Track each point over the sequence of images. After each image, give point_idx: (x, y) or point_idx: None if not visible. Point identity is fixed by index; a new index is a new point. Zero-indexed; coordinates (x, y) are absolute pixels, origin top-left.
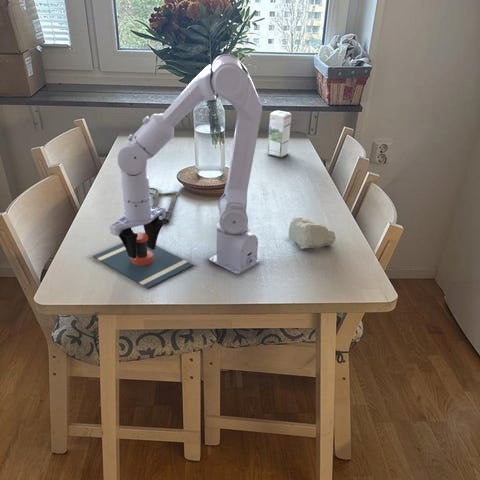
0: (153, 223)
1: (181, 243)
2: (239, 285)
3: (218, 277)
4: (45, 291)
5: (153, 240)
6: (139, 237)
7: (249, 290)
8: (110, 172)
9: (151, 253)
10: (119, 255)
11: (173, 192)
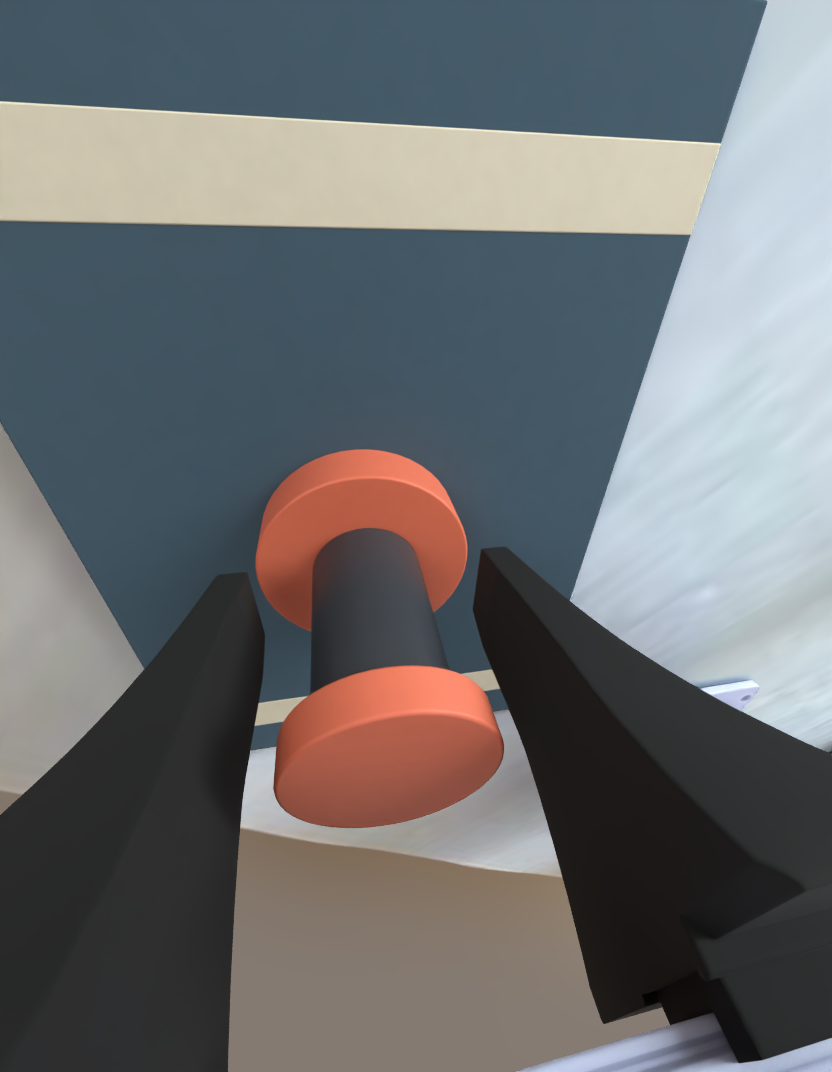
0: (625, 1004)
1: (749, 499)
2: (510, 816)
3: (512, 778)
4: None
5: (510, 702)
6: (360, 797)
7: (504, 834)
8: None
9: (445, 591)
10: (218, 307)
11: None
